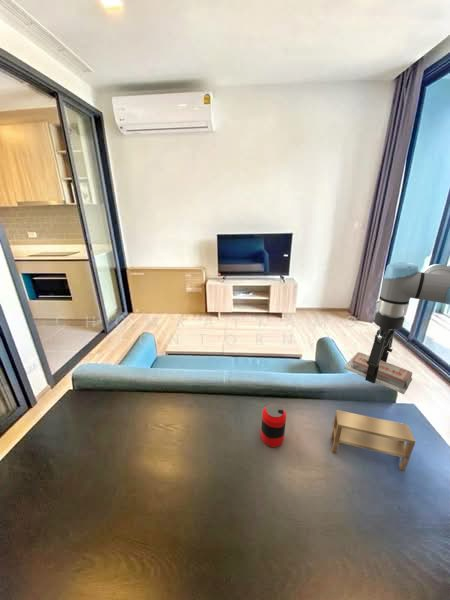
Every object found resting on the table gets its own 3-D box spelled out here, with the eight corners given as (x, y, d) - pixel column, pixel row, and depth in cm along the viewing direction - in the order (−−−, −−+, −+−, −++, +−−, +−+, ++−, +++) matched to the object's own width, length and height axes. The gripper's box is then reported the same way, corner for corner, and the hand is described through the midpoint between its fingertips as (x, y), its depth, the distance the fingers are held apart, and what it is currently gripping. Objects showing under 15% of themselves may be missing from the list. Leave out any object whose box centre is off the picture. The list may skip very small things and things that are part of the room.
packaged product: (416, 368, 79) (407, 382, 73) (412, 381, 81) (403, 396, 74) (356, 346, 91) (345, 357, 85) (354, 358, 93) (343, 369, 87)
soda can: (282, 450, 80) (285, 422, 76) (258, 443, 82) (260, 415, 78) (284, 431, 87) (287, 404, 82) (263, 426, 89) (265, 399, 85)
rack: (398, 453, 79) (407, 424, 75) (404, 471, 74) (415, 441, 69) (330, 437, 85) (336, 409, 80) (332, 453, 79) (338, 424, 75)
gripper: (386, 301, 86) (373, 356, 94) (364, 320, 71) (351, 384, 79) (413, 306, 81) (396, 364, 89) (394, 329, 66) (377, 396, 74)
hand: (375, 374), depth 84 cm, fingers closed on packaged product, 10 cm apart
